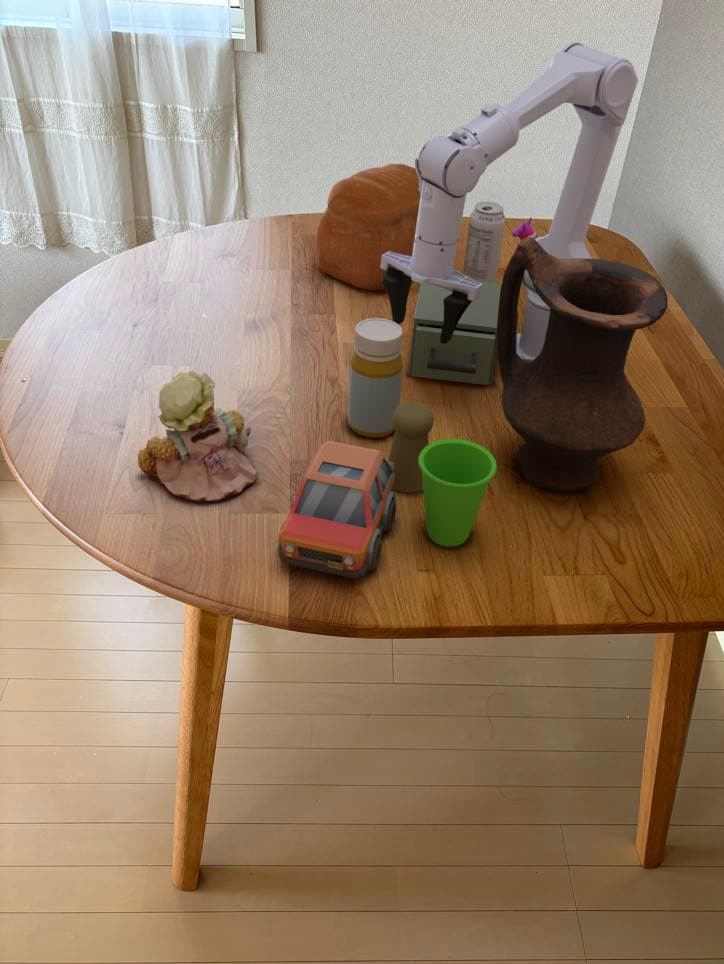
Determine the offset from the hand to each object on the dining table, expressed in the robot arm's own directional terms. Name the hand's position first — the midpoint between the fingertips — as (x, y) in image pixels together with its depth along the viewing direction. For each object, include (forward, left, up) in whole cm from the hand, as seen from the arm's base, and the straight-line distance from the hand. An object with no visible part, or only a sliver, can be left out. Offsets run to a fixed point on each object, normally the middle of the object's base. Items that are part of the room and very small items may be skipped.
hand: (421, 332), depth 127 cm
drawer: (-5, -8, -10) cm, 14 cm away
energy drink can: (-8, -37, -11) cm, 39 cm away
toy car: (+6, +33, -11) cm, 35 cm away
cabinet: (-5, -13, -11) cm, 17 cm away
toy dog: (-21, -43, -11) cm, 49 cm away
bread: (+10, -42, -11) cm, 44 cm away
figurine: (+25, +24, -11) cm, 37 cm away
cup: (-7, +30, -11) cm, 33 cm away
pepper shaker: (-1, +20, -11) cm, 23 cm away
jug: (-20, +13, -11) cm, 26 cm away
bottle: (+5, +9, -11) cm, 15 cm away
